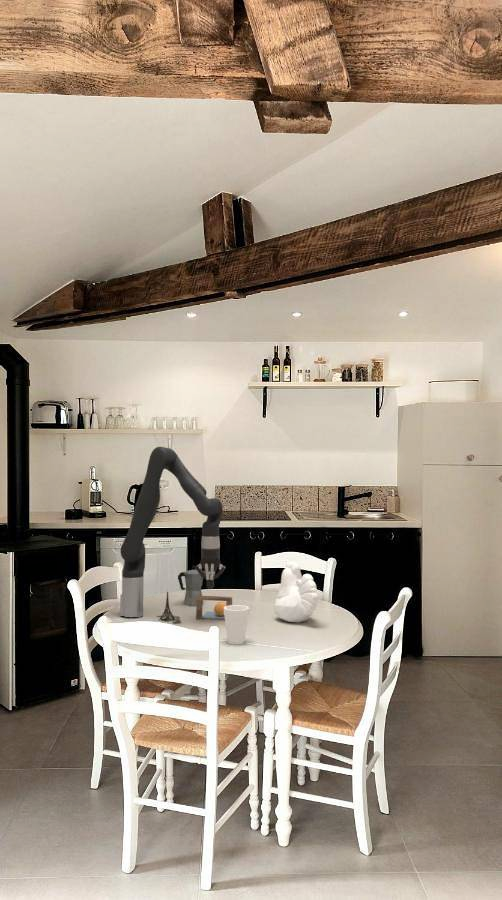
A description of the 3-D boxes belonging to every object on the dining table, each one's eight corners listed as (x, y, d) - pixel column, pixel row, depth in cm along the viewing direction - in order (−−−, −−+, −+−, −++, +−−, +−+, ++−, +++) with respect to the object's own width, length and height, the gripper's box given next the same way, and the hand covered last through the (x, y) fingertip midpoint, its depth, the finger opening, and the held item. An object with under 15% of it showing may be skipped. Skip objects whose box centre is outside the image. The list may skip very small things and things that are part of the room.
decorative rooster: (269, 616, 313) (270, 559, 313) (303, 614, 317) (304, 558, 317) (288, 630, 289) (289, 569, 289) (325, 628, 293) (325, 567, 293)
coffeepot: (199, 600, 344) (199, 563, 344) (210, 604, 336) (211, 565, 336) (172, 604, 334) (172, 566, 334) (183, 608, 327) (183, 569, 327)
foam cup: (248, 639, 276) (248, 605, 276) (249, 645, 267) (249, 610, 267) (223, 638, 276) (223, 605, 276) (223, 645, 267) (223, 610, 266)
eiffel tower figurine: (181, 624, 299) (182, 592, 299) (157, 625, 297) (157, 593, 297) (178, 616, 314) (179, 585, 314) (155, 617, 312) (155, 586, 312)
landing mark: (201, 617, 309) (201, 617, 309) (207, 611, 321) (207, 611, 321) (228, 619, 307) (228, 618, 307) (233, 612, 319) (233, 612, 319)
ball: (213, 619, 311) (213, 607, 309) (215, 611, 317) (214, 599, 315) (227, 619, 311) (226, 607, 309) (228, 611, 316) (228, 599, 314)
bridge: (230, 621, 304) (231, 598, 304) (196, 619, 306) (196, 597, 306) (232, 619, 307) (232, 596, 307) (197, 618, 309) (197, 595, 309)
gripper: (192, 547, 294) (192, 589, 294) (224, 548, 292) (224, 591, 293) (196, 545, 302) (196, 586, 302) (227, 546, 300) (227, 587, 300)
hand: (210, 588), depth 297 cm, fingers closed
